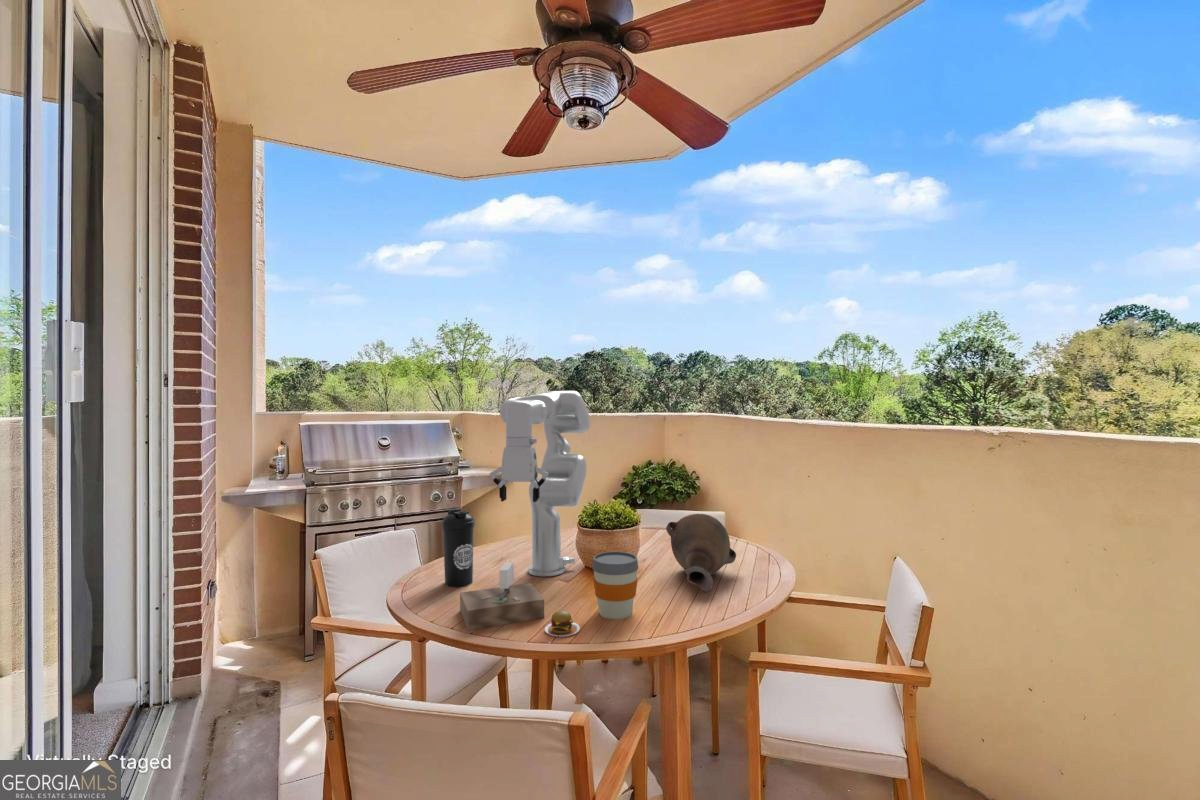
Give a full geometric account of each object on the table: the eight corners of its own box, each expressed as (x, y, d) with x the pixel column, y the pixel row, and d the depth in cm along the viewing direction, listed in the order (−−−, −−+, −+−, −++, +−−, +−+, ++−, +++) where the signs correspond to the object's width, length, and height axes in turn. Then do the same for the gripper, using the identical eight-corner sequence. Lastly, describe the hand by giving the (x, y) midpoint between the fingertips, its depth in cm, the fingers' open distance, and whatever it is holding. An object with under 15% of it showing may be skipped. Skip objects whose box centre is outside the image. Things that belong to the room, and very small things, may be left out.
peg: (506, 587, 159) (505, 562, 159) (513, 587, 159) (513, 562, 158) (496, 600, 149) (496, 573, 149) (504, 600, 148) (504, 573, 148)
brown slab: (530, 600, 163) (530, 582, 163) (544, 617, 150) (544, 598, 150) (460, 610, 155) (459, 591, 155) (468, 630, 142) (467, 609, 142)
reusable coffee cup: (611, 600, 162) (611, 548, 162) (647, 611, 154) (647, 556, 154) (583, 614, 152) (582, 558, 152) (620, 625, 144) (619, 567, 144)
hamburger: (595, 629, 144) (595, 607, 144) (567, 647, 134) (567, 624, 134) (557, 619, 150) (557, 599, 150) (528, 636, 140) (528, 614, 140)
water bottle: (450, 590, 172) (450, 515, 171) (437, 582, 179) (436, 510, 179) (480, 583, 178) (480, 510, 178) (466, 575, 186) (465, 505, 186)
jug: (681, 561, 199) (669, 606, 171) (668, 509, 197) (654, 546, 169) (739, 554, 193) (737, 599, 165) (726, 500, 191) (722, 537, 163)
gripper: (550, 441, 168) (551, 499, 168) (494, 441, 170) (495, 498, 170) (544, 444, 160) (545, 504, 161) (486, 443, 163) (486, 502, 163)
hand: (519, 500), depth 166 cm, fingers open, 9 cm apart
